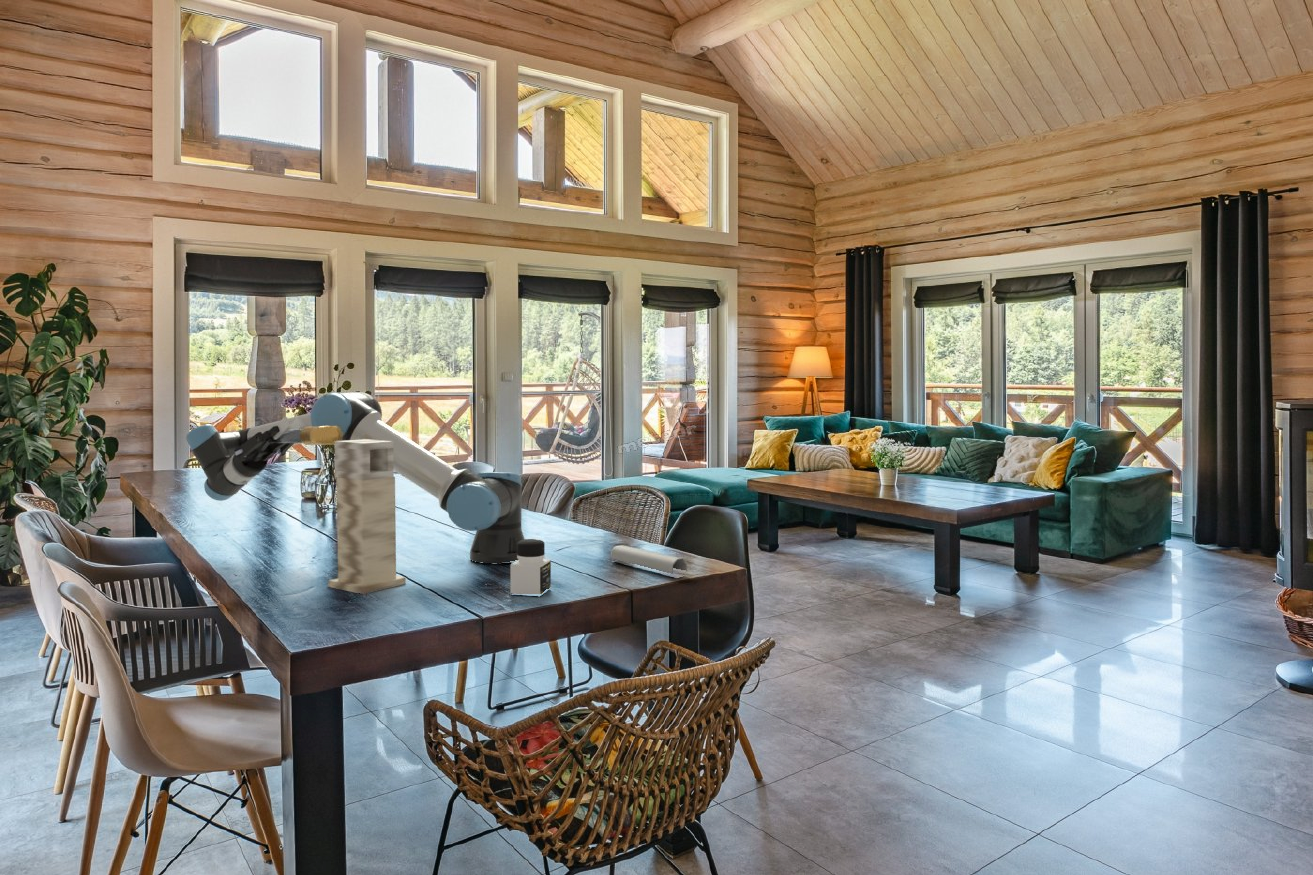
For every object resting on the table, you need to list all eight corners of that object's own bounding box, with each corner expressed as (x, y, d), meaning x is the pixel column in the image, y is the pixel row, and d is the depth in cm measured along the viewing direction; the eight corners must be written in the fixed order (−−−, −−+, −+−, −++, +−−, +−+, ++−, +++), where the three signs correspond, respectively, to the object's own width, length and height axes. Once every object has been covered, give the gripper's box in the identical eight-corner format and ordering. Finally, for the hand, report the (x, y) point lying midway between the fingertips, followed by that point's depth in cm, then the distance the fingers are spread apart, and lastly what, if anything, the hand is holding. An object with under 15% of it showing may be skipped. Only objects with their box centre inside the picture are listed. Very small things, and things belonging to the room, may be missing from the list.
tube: (604, 548, 229) (669, 563, 210) (619, 539, 232) (684, 553, 214) (609, 566, 231) (674, 583, 212) (624, 557, 234) (689, 573, 215)
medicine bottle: (540, 597, 193) (540, 543, 192) (510, 595, 194) (509, 542, 193) (551, 590, 200) (551, 537, 199) (521, 588, 201) (521, 536, 200)
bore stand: (328, 586, 201) (325, 441, 198) (371, 576, 211) (369, 438, 208) (363, 594, 194) (361, 444, 192) (405, 583, 204) (404, 441, 202)
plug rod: (260, 446, 218) (259, 428, 218) (276, 445, 222) (275, 427, 222) (327, 445, 204) (326, 426, 204) (343, 444, 208) (342, 425, 208)
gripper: (279, 474, 231) (328, 433, 220) (220, 480, 218) (269, 437, 206) (270, 449, 233) (318, 407, 221) (211, 453, 219) (259, 409, 208)
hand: (294, 421), depth 214 cm, fingers closed on plug rod, 3 cm apart
